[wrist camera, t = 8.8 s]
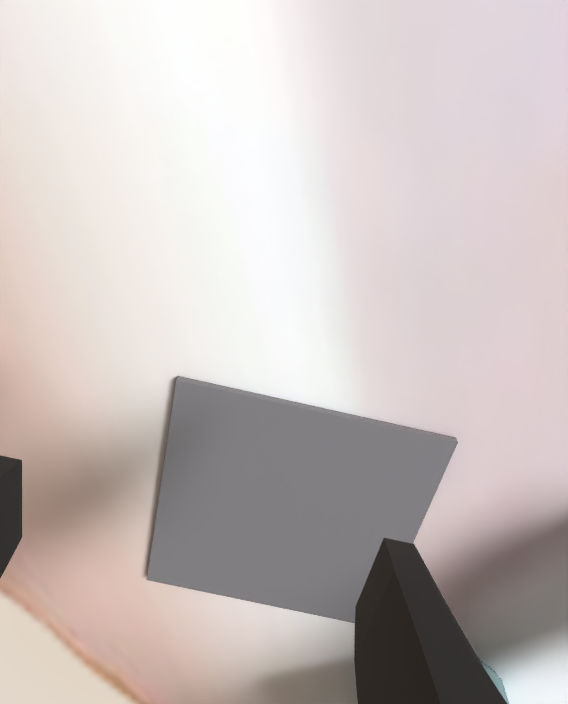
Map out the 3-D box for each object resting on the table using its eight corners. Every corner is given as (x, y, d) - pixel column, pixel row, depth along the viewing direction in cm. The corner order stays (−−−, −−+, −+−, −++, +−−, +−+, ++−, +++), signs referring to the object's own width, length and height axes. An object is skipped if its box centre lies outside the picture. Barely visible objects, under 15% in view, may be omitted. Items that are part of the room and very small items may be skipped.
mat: (456, 437, 21) (457, 442, 21) (374, 621, 26) (375, 627, 26) (177, 376, 21) (176, 379, 20) (148, 574, 25) (146, 579, 25)
